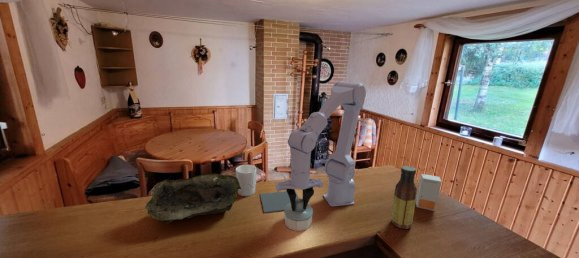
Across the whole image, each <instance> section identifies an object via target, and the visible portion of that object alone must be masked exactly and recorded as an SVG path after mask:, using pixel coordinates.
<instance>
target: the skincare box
mask: <svg viewBox="0 0 579 258" xmlns="http://www.w3.org/2000/svg"><path fill="white" fill-rule="evenodd" d="M442 183H443V182H442V180H441V177H440V176H435V175H431V174H425V173H421V174H420V179H419V183H418V187H417V188H418V189H417V191H416V201H415V207H416V208H419V209H422V210H423V209H425V210H428V211H431V212H435V210H436V206H437V203H438V199H439V194H440V190H441V186H442Z"/></svg>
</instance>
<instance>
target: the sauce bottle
mask: <svg viewBox="0 0 579 258" xmlns="http://www.w3.org/2000/svg"><path fill="white" fill-rule="evenodd" d="M400 172H401V173H400V178H399V180H398V182H397V183H396V184H395V188H394V193H393V194H394V195H393V200H392V210H391V223H392V225H394V226H395V227H397V228H399V229H402V230H409V229H410V228H411V227H412V224H413V220H414V214H415V207H416V197H417V192H418V189H417V187H416V183H415V181H414V180H415V176H416V172H417V169H416V168H415V167H414V166H410V165H403V166H401V169H400Z"/></svg>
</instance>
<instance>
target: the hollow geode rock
mask: <svg viewBox="0 0 579 258" xmlns="http://www.w3.org/2000/svg"><path fill="white" fill-rule="evenodd" d="M238 189H241V187H240V184H239V181H238V179H237V178H236V176H233V175H230V174H224V175H223V174H220V173H217V172H211V173H207V172H206V173H202V174H198V175H195V176H193V177H189V178H179V179H174V180H170V179H163V180H162V181H160V182H159V183H157V184H156V185H155V186H154V187H153V193H152V196H151V199H150V200H149V201H148V202H147V203H146V204H145V207H144V208H145V209H146V210H147V215H149V216H151V217H152V218H153V219H154V220H158V221H162V222H164V223H165V224H166V225H168V224H171V223H173V222H174V221H177V220H183V219H190V218H191V219H192V218H193V217H195V216H200V215H203V216H204V215H209V216H210V215H213V214H214V215H215V214H220V213H225V212H227V211H228V212H229V211H231V210H232V207H233V204H234V203H235V202H236V201H237V200H238V198H237V193H238Z"/></svg>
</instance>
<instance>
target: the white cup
mask: <svg viewBox="0 0 579 258" xmlns="http://www.w3.org/2000/svg"><path fill="white" fill-rule="evenodd" d="M235 177H236V178H237V179H238V181H239V184H240V187H241V189H238V191H237V194H238V195H239V196H242V197H249V196H253V195H254V194H255V193H256V186H257V185H256V183H257V167H256V166H255V165H253V164H242V165H239V166H236V168H235Z"/></svg>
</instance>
